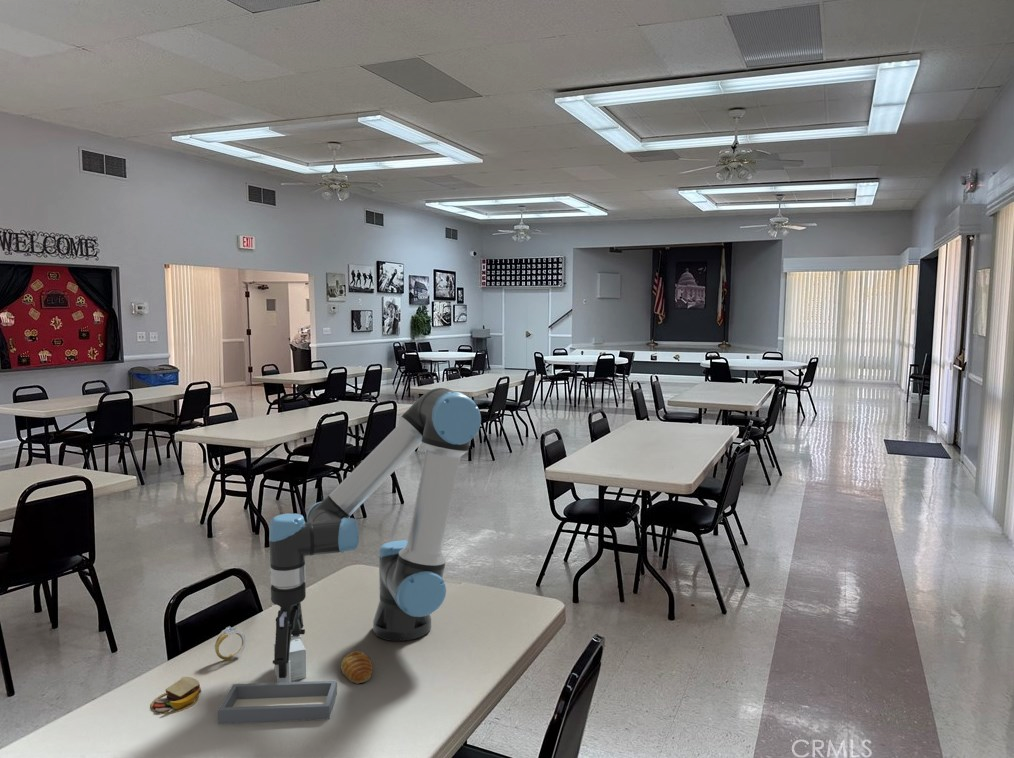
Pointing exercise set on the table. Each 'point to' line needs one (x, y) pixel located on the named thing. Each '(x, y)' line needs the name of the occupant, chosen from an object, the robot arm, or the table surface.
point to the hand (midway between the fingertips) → (290, 675)
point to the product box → (296, 660)
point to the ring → (227, 632)
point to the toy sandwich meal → (178, 696)
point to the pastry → (357, 667)
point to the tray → (278, 702)
